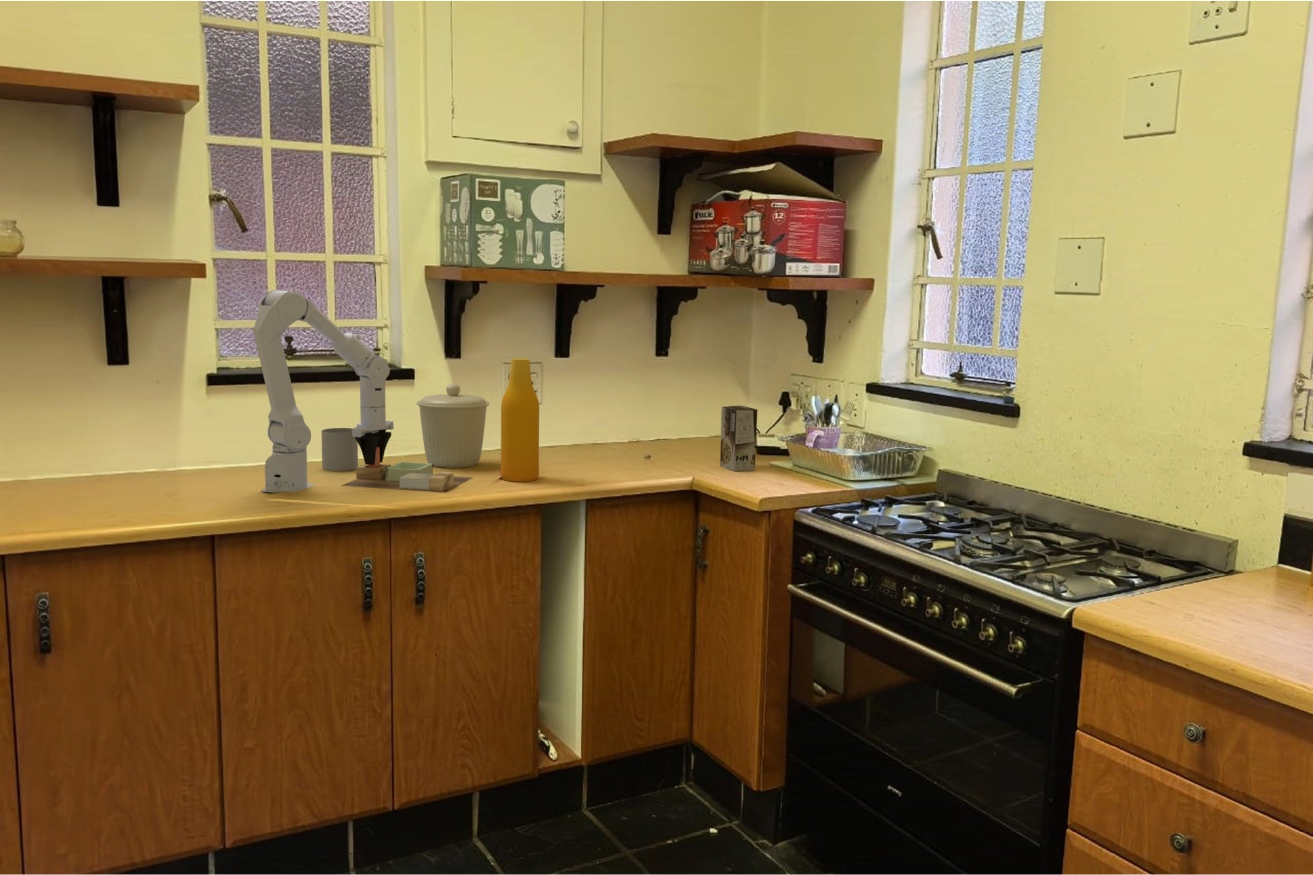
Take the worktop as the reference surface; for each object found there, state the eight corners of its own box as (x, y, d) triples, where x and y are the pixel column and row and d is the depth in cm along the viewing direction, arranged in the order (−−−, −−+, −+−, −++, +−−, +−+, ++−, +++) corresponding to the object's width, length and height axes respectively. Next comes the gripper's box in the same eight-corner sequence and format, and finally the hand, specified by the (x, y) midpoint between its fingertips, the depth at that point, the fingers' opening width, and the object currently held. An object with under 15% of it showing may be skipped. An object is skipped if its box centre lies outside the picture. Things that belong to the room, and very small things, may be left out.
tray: (418, 482, 242) (418, 470, 242) (385, 480, 243) (385, 468, 243) (432, 475, 251) (432, 463, 250) (401, 473, 252) (401, 461, 252)
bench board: (445, 494, 232) (445, 478, 232) (338, 488, 236) (338, 472, 236) (473, 479, 250) (473, 465, 249) (373, 473, 254) (372, 459, 253)
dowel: (376, 478, 246) (376, 448, 245) (365, 477, 246) (365, 448, 245) (382, 475, 249) (381, 446, 248) (370, 475, 249) (370, 446, 248)
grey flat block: (429, 490, 234) (429, 479, 233) (399, 488, 235) (399, 477, 235) (439, 485, 240) (439, 474, 239) (410, 483, 241) (410, 472, 240)
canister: (450, 457, 279) (450, 379, 276) (503, 465, 270) (504, 384, 267) (402, 466, 264) (401, 384, 261) (456, 475, 255) (456, 389, 252)
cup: (363, 468, 261) (362, 428, 260) (350, 474, 253) (349, 433, 252) (330, 466, 262) (329, 427, 260) (316, 472, 254) (315, 432, 252)
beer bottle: (535, 482, 248) (536, 361, 244) (496, 481, 249) (497, 360, 244) (541, 475, 257) (542, 358, 253) (504, 474, 258) (505, 357, 253)
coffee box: (756, 470, 272) (758, 409, 270) (733, 471, 270) (736, 409, 267) (740, 464, 281) (742, 405, 278) (718, 465, 278) (721, 405, 276)
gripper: (375, 402, 253) (376, 457, 255) (340, 408, 239) (341, 466, 241) (400, 403, 251) (401, 459, 253) (366, 410, 237) (367, 469, 239)
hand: (373, 463), depth 247 cm, fingers closed on dowel, 3 cm apart
